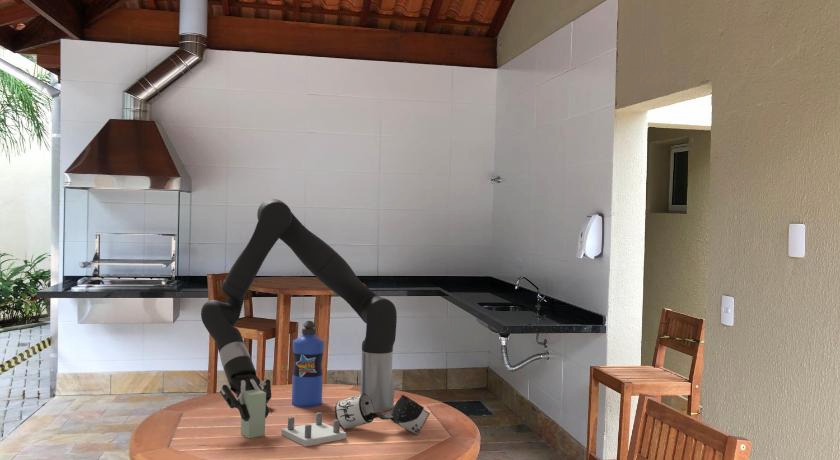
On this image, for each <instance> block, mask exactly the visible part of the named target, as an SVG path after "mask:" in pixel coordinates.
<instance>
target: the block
mask: <svg viewBox="0 0 840 460" xmlns="http://www.w3.org/2000/svg"><path fill="white" fill-rule="evenodd" d="M243 395H244V396H243V398H244V400H245V404H244V405H246V407H247V409H248V412H249V415H250V418H249V420H248V421H244V420H243V419H242V418H241V417H240V418H241V419H240V435H242V436H244V437H246V438H248V439H253V438H258V437H263V436H266V435H265V434H266V418H265V412H266V392H263V391H261V390H259V389H257V390H248V391H243Z"/></svg>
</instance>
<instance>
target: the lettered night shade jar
mask: <svg viewBox="0 0 840 460" xmlns="http://www.w3.org/2000/svg"><path fill="white" fill-rule="evenodd" d="M360 394H361V393H360ZM360 394H358V395H354V396H351V397H348V398H345V399H341V400H339V401H337V402H336V403H335V407H334V415H335V420H340V428H341V429H342V430H344V431H345V430H349V429H353V428H357V427H360V426H363V425H367V424H370V423H372V422H374V419H376V418H378V419H381V420H391V421H392V423H394V424H396V425H398V426H400V427H402V429H403V428H404V429H405V430H407V431H409V432H410V433H411V434H413V435H415V436H418V435H419V433H420V431H421V430H422V428H423V426H424V425H425V424H426V421H427V419H428V418H429V416H430V414H431V413H430V412H429V411H427V410H425V407H424V406H422V405H421V404H420V403H418V402H416V401H415V400H413V399H411V398H410V397H408V396H406V395H404V394H401V396H400V397H399V399H397V401H396V402H395V403H394V407H393V408H392V409H391V410H390V412H385V413H382V412H374V407H373V404H372V401H371V400H370V398H369V397H368V396H367V395H366V394H361V395H360Z"/></svg>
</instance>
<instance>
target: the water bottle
mask: <svg viewBox="0 0 840 460" xmlns="http://www.w3.org/2000/svg"><path fill="white" fill-rule="evenodd" d="M302 326H303V327H302V328H301V334H302V335H301V336H299V337H298V338H295V339H294V340H293V341H292V352H293V364H294V367H293V372H292V382H291V383H292V385H291V405H292V406H293V405H294V407H296V406H297V407H298V408H315V407H316V408H317V407H319V406H321V405H322V404H323V381H324V380H323V378H324V377H323V367H322V366H323V365H322V363H323V358H324V357H323V356H324V352H325V340H323V339H322V338H320V337H317V335H316V334H317V328H315V327H317V326H316V324H315V323H314V321H312V320H306V321H305V322H304V323H303V324H302Z"/></svg>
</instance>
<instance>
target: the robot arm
mask: <svg viewBox="0 0 840 460" xmlns="http://www.w3.org/2000/svg"><path fill="white" fill-rule="evenodd" d="M256 212H257V214H256V215H257V216H256V217H257V223H256V226H255V229H254V232H253V233H252V236H251V238H250V239H249V241H248V243H247V245H246V246H245V247H244V249H243V250H242V252H241V253H240V254H239V255H238V257H237V259H236V260H235V261H234V264H233V265H232V266H231V268H230V270H229V271H228V273H227V275H226V276H225V278H224V280H223V283H222V284H221V289H220V290H221V292H222V293H223V294H225V295H226V300H225V302H223V301H221V300H220V301H219V300H216V299H211V300H210V299H209V300H207V301H206V302H205V303H204V304H203V305H202V307H201V309H200V310H201V311H200V317H201V321H202V322H201V323H202V324H203V326H204V327H205V328H206V330H207V332H208V333H209V335H210V336H211V338H212V339H213V341H214V342H215V344H216V348H217V350H218V353H219V357H220V362H221V366H222V368H223V370H224V371H223V372H224V374H225V376H226V379H227V382H228V384H223V385H222V387H221V389H220V390H219V393H220V395H221V397H222V398H223V399H224V401H225V402H226V404H227V405H228V407H229V408H230V409H234V408H235V409H237V410H238V411H239V414H240V418H242V419H243V420H244V421H248V420H249V418H250V415H249V412H248V409H247V407H246V405H244V404H245V400H244V398H243V396H244V395H243V391H248V390H257V389H259V390H260V388H259V385H260V386H261V388H262V390H263V392H266V412H265V419H267V417H268V416H269V413H270V410H269V408H268V403H269V402H270V400H271V399H272V386H271V380H270V379H266V380H261V379H260V378H259V377H258V375H257V371H256V369H255V365H254V363H253V360H252V358H251V355H250V353H249V350H248V348H247V346H246V344H245V341H244V339H243V336H242V333H241V331H240V330H239V329H238V328H237V327H235V325H236V324H237V323H238V321H239V319H240V316H241V313H242V309H243V304H244V302H245V297H246V294H247V293H248V291H249V289H250V287H251V285H252V284H253V282H254V280H255V278H256V277H257V275H258V273H259V271H260V269H261V267H262V265H263V263H264V262H265V259H266V258H267V256H268V254H269V253H270V252H271V250H272V248H273V247H274V246H275V244H276V243H277V241H279V240H281V241H282V242H283V243H284V244H286V246H287V247H288V248H290V250H291V251H292V252H293V253H294V255H295V256H296V257H297V258H298V260H299V261H300V262H301V263H302V264H303V265H304V267H306V269H307V270H308V271H310V273H311V274H312V275H314V276H315V277H316V278H317V279H318V280H319V281H320V282H321V283H322V284H324V285H325V286H326V287H327V288H329V289H330V290H331V291H332V292H334V293H335V294H336V295H337V296H339V297H340V298H341V299H343V300H344V301H345V302H346V303H347V304H348V305H349V306H350V307H351V309H352V310H354V312H355V313H356V314H357V315H358V317H359V318H361V320H362V321H363V322H364V323H365V325H366V326H365V327H366V329H365V337H364V339H363V341H362V344H361V367H360V369H361V371H360V394H359V395H361V394H366V395H367V396H368V397H369V398H370V400H371V401H372V404H373V407H374V413H382V412H388V411H391V410H393V407H394V405H395V376H394V375H393V355H394V354H393V352H394V344H395V343H396V342H395V341H396V336H397V335H396V334H397V322H398V321H397V319H398V318H397V314H398V313H397V308H396V306H395V304H394V303H393V302H392V301H391V300H389V299H387V298H385V297H381V296H379V295H378V294H377V293H375V292H373V290H371V289H370V288H369V287H368V286H366V285H365V284H364V283H363V282H362V281H361V280H360V279H359V277H358V276H357V275H356V273H355V272H354V270H353V269H352V267H351V266H350V264H349V263H347V262H348V261H346V260H345V259H344V258H343V257H342V256H341V255H340V254H339V253H338V252H337V251H336V250H335V249H333V247H331V246H330V245H329V244H328V243H327V242H325V241H324V240H323V239H322V238H320V237H319V236H318V235H316V234H315V233H313V232H312V231H311V230H309V229H308V228H307V227H305V225H303V224H302V222H301V221H300V220H299V219H298V217H296V216H295V214H294V213H293V212H292V210H291V208H290V207H289V206H288V204H286V203H285V202H284V201H282V200H280V199H276V198H270V199H267V200H265V201H262V203H260V205H259V207H258V209H257V211H256ZM260 380H261V381H260ZM232 392H233V393H232ZM234 394H236V395H234ZM235 396H236V397H235Z"/></svg>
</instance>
